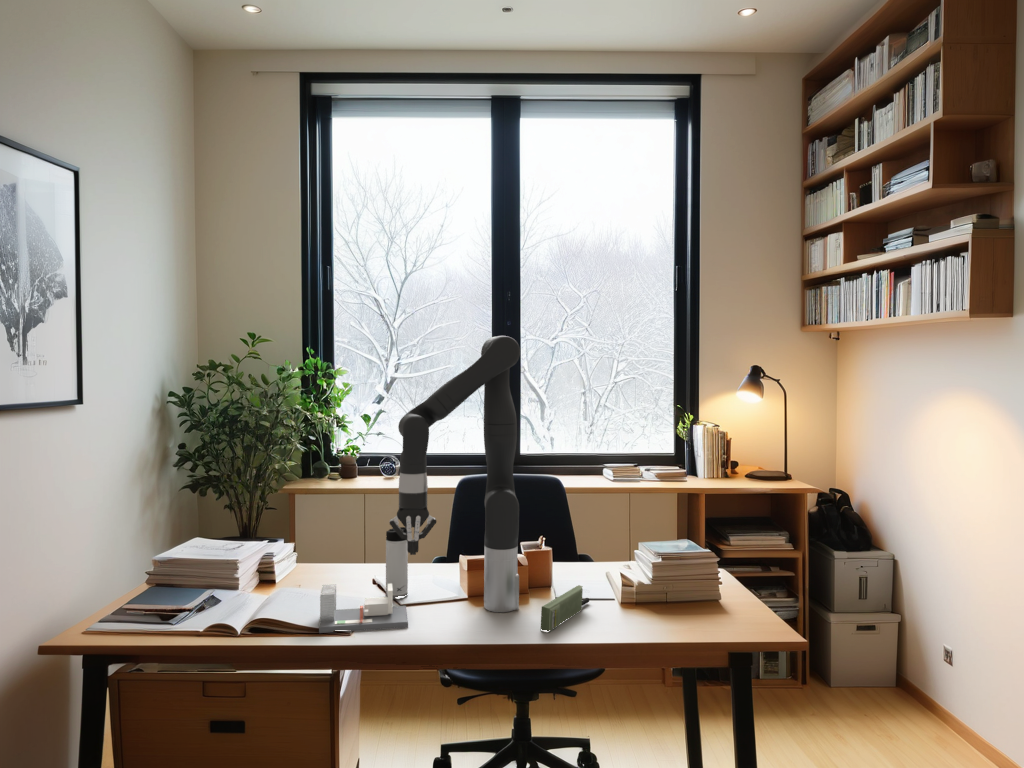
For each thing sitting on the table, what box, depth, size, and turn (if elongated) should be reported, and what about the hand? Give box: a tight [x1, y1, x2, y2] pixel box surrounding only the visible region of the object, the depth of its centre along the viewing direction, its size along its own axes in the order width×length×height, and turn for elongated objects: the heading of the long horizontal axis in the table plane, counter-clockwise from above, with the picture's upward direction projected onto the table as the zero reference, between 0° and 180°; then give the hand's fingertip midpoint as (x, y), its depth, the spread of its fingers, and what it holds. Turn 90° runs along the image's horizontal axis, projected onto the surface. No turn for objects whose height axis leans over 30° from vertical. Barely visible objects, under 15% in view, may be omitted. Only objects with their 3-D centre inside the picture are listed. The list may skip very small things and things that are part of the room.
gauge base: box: [318, 605, 409, 634], centre depth 183 cm, size 22×12×2 cm, turn 101°
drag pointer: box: [359, 605, 364, 623], centre depth 179 cm, size 1×4×3 cm, turn 11°
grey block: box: [319, 584, 337, 623], centre depth 182 cm, size 4×8×7 cm, turn 11°
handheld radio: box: [540, 584, 590, 631], centre depth 188 cm, size 7×3×25 cm
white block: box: [363, 584, 394, 616], centre depth 184 cm, size 7×8×6 cm
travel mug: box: [385, 526, 409, 600], centre depth 203 cm, size 6×7×20 cm
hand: (412, 554), depth 186 cm, fingers closed
